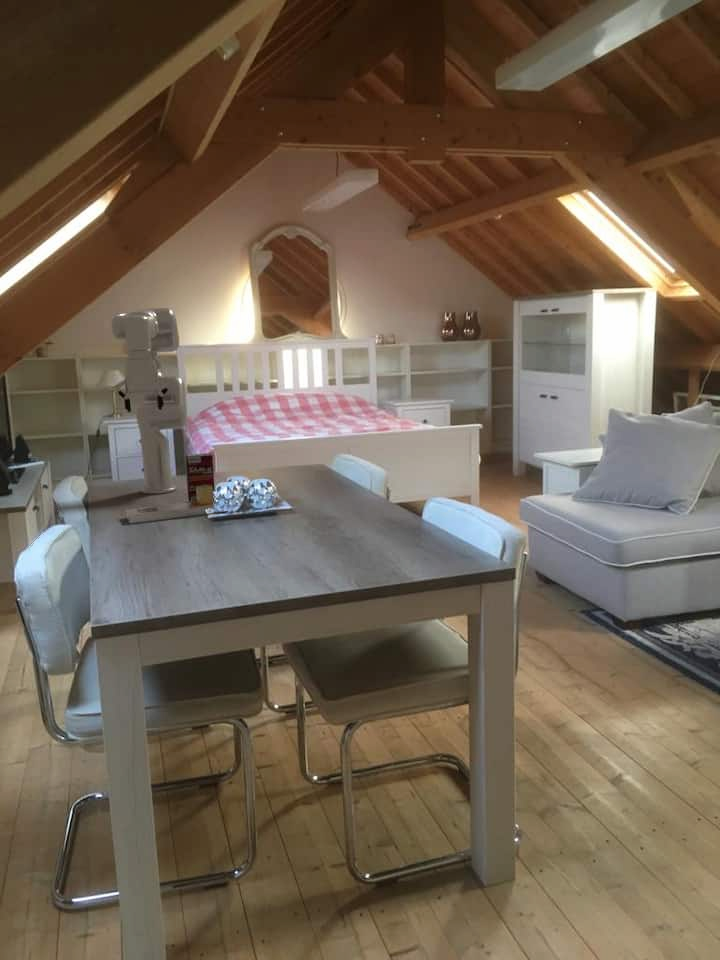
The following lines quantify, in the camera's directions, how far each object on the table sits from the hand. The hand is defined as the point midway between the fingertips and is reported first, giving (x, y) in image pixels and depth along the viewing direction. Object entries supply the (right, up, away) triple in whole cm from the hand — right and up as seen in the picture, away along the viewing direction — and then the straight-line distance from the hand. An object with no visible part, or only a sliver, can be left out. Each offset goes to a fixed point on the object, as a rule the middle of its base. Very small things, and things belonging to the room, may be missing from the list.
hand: (144, 410), depth 257 cm
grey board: (+11, -33, -4) cm, 35 cm away
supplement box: (+16, -30, +14) cm, 36 cm away
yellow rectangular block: (+20, -32, -1) cm, 38 cm away
